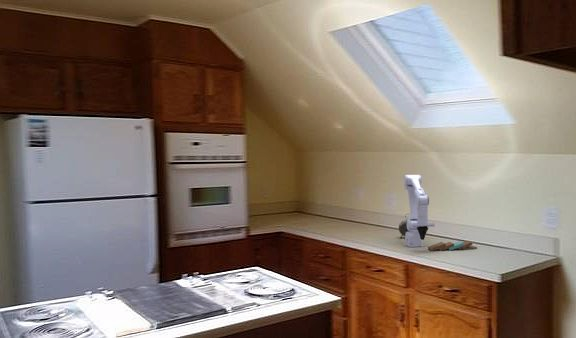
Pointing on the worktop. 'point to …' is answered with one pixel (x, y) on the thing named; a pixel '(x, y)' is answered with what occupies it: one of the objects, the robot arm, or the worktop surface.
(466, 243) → the domino
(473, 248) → the domino
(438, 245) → the brown wooden block
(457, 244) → the teal domino
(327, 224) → the worktop surface
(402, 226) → the alarm clock
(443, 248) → the domino
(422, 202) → the robot arm
